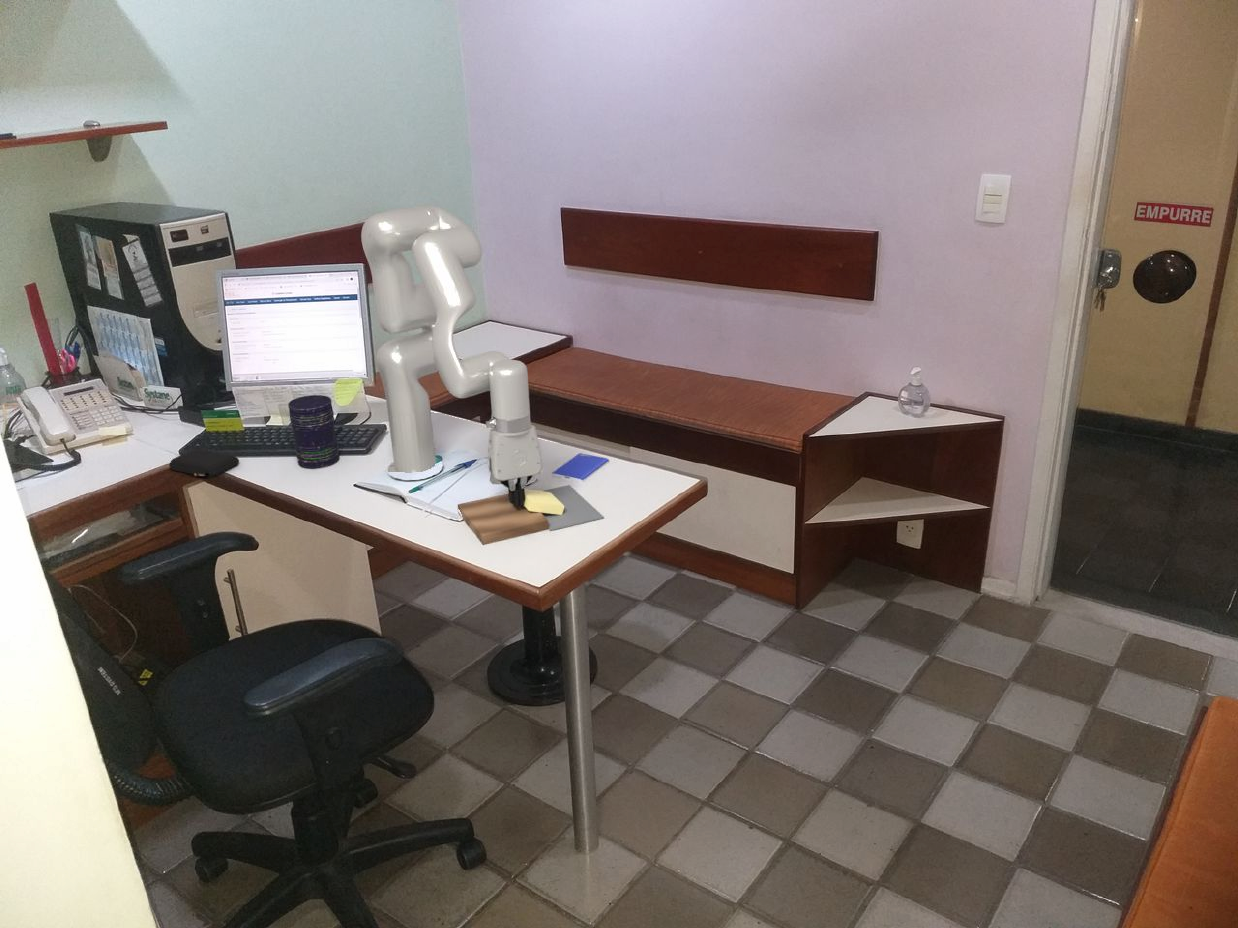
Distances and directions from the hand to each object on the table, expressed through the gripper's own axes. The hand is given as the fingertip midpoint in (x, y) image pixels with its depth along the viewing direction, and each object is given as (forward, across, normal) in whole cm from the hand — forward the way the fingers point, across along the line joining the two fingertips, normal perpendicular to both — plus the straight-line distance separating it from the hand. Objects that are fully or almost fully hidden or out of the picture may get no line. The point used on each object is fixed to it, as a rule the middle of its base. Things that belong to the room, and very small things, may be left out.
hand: (517, 504), depth 201 cm
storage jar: (+3, -32, +51) cm, 60 cm away
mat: (+3, +10, 0) cm, 10 cm away
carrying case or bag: (+4, -57, +59) cm, 82 cm away
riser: (+3, -3, 0) cm, 5 cm away
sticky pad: (+1, +5, 0) cm, 5 cm away
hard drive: (+4, +22, +17) cm, 27 cm away
